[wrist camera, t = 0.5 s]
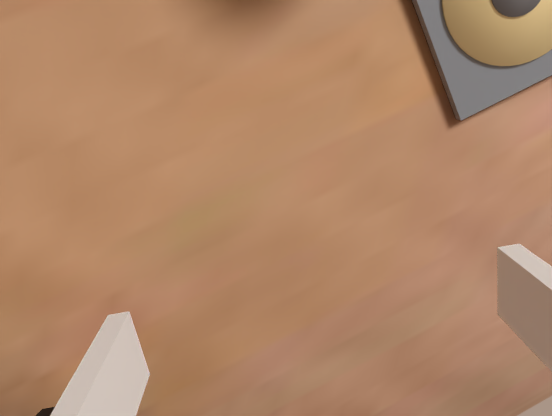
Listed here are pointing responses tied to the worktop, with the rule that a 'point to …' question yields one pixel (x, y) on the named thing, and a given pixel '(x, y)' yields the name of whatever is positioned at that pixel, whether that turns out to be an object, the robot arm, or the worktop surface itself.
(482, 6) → the socket board
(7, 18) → the worktop surface
